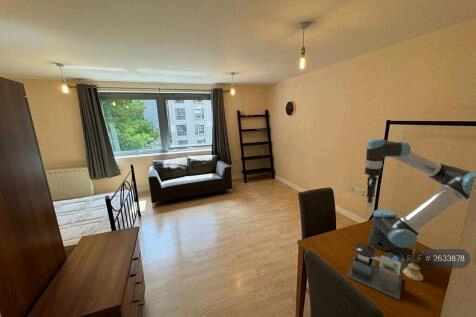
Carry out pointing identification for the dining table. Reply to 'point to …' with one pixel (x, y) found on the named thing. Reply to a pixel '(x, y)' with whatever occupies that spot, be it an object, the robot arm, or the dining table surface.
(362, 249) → the black ball joystick
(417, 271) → the hand bell
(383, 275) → the press stand
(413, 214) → the robot arm
